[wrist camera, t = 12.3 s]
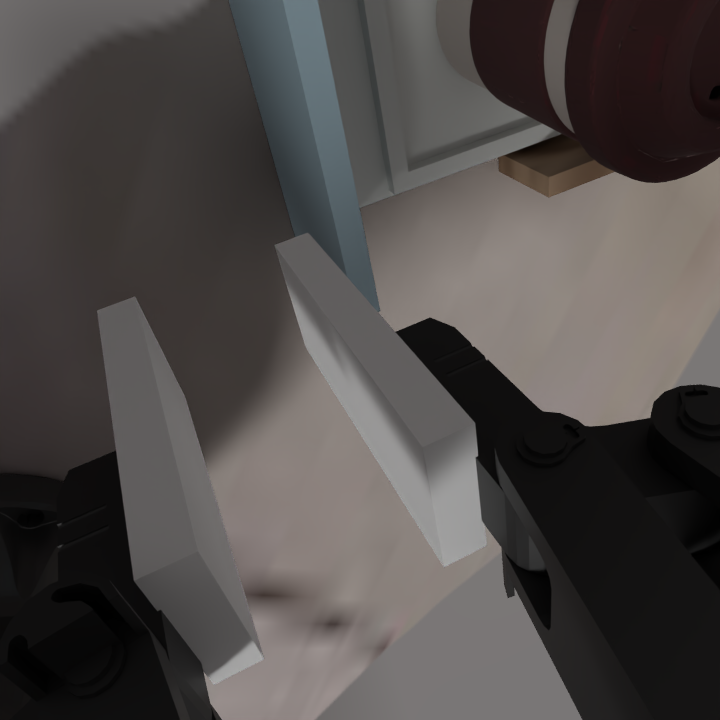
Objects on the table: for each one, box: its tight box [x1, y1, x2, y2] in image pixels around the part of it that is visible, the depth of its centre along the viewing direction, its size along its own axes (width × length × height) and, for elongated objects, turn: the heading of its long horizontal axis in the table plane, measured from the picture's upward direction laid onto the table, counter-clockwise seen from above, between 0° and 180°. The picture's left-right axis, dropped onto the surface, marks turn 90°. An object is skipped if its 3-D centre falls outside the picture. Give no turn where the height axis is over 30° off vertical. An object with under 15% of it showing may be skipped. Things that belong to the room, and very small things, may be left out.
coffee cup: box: [436, 0, 720, 183], centre depth 26 cm, size 10×10×15 cm
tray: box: [228, 0, 561, 312], centre depth 28 cm, size 21×19×9 cm
